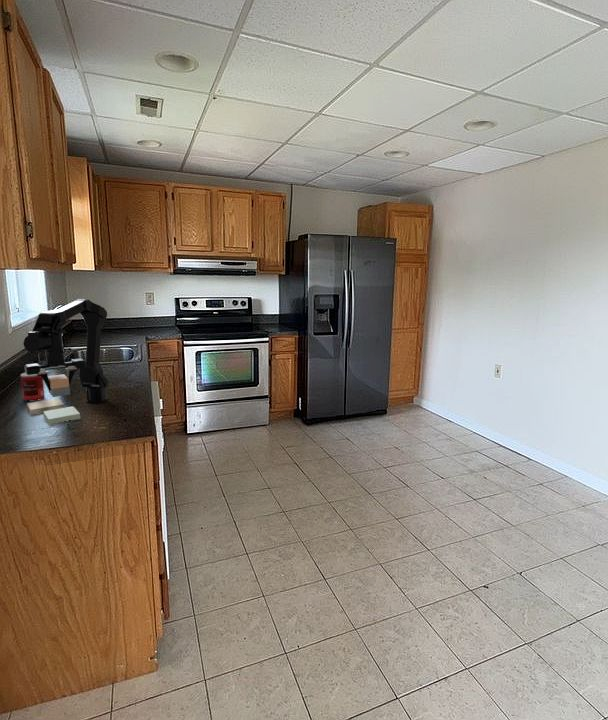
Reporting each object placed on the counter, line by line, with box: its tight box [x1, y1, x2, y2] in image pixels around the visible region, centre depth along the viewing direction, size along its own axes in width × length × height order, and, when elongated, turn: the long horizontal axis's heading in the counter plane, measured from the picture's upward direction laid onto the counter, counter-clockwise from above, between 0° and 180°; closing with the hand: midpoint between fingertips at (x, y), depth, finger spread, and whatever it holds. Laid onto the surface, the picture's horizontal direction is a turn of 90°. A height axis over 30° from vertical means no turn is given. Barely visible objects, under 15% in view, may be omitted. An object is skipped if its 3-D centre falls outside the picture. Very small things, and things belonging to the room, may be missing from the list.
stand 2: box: [42, 406, 81, 425], centre depth 155 cm, size 11×10×2 cm
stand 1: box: [26, 398, 65, 415], centre depth 164 cm, size 11×10×2 cm
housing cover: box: [48, 373, 70, 389], centre depth 152 cm, size 8×6×3 cm
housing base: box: [48, 386, 71, 398], centre depth 153 cm, size 8×6×3 cm
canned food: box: [20, 372, 45, 401], centre depth 176 cm, size 8×8×11 cm
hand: (58, 389), depth 153 cm, fingers closed on housing base, housing cover, 5 cm apart
